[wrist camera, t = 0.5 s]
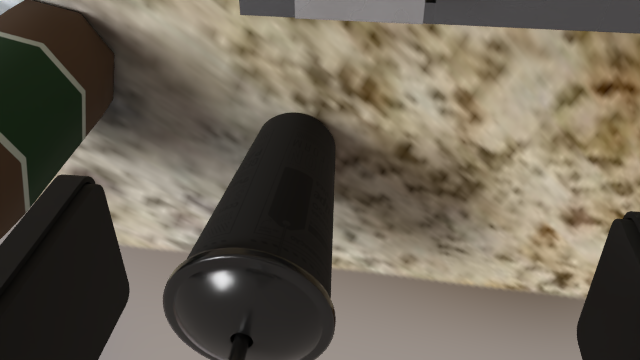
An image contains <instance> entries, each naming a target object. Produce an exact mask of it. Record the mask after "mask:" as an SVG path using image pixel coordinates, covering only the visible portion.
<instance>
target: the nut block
mask: <svg viewBox="0 0 640 360" xmlns="http://www.w3.org/2000/svg"><path fill="white" fill-rule="evenodd" d="M424 7H425V0H295V18H301V19H323V20H344V21H366V22H387V23H409V24H423V17H424Z"/></svg>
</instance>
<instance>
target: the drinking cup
mask: <svg viewBox="0 0 640 360" xmlns="http://www.w3.org/2000/svg"><path fill="white" fill-rule="evenodd" d="M334 177H335V142H334V139H333V137H332V135H331V133H330V132H329V130H328V129H327V128H326V127H325V126H324V125H323V124H322V123H321V122H319V121H318V120H316V119H315V118H313V117H310V116H308V115H304V114H300V113H286V114H281V115H278V116H275V117H273V118H272V119H270V120H269V121H267V122H266V123H265V124H264V126H263V127H262V128H261V130H260V132H259V134H258V135H257V137H256V139H255V141H254V142H253V144H252V146H251V148H250V149H249V151H248V153H247V155H246V156H245V158H244V160H243V162H242V163H241V165H240V167H239V169H238V170H237V172H236V174H235V176H234V177H233V179H232V181H231V183H230V184H229V186H228V188H227V190H226V191H225V193H224V195H223V197H222V198H221V200H220V202H219V204H218V205H217V207H216V209H215V211H214V212H213V214H212V216H211V218H210V219H209V221H208V223H207V225H206V226H205V228H204V230H203V232H202V233H201V235H200V237H199V239H198V240H197V242H196V244H195V246H194V247H193V249H192V251H191V253H190V254H189V256H188V258H187V260H185V261H184V262H183V263H181V264H180V265H179V266H178V267H177V268H176V269H175V270H174V271H173V273H172V274H171V276H170V278H169V280H168V281H167V284H166V286H165V289H164V294H163V307H164V312H165V316H166V318H167V320H168V322H169V324H170V326H171V327H172V329H173V330H174V332H175V333H176V334H177V335H178V337H179V338H180V339H181V340H182V341H183V342H185V343H186V344H187V345H188V346H189V347H191V348H192V349H193V350H195V351H196V352H198V353H199V354H201V355H203V356H204V357H206V358H208V359H210V360H315V359H316V358H318V357H319V356H320V355H321V354H322V353H323V352H324V351H325V350H326V349H327V347H328V346H329V344H330V342H331V340H332V338H333V335H334V330H335V322H336V321H335V320H336V317H335V310H334V307H333V303H332V301H331V270H332V239H333V208H334Z"/></svg>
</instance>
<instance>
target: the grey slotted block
mask: <svg viewBox="0 0 640 360" xmlns="http://www.w3.org/2000/svg"><path fill="white" fill-rule="evenodd" d="M239 4H240V15H255V16H276V17H295V0H239ZM423 23H426V24H448V25H469V26H490V27H512V28H533V29H555V30H576V31H597V32H619V33H640V0H425V7H424V17H423Z"/></svg>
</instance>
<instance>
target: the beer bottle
mask: <svg viewBox="0 0 640 360" xmlns="http://www.w3.org/2000/svg"><path fill="white" fill-rule="evenodd" d="M113 87H114V53H113V52H112V51H111V49H110V48H109V47H108V46H107V45H106V43H105V42H104V41H103V40H102V39H101V37H100V36H99V35H98V34H97V33H96V31H95V30H94V29H93V28H92V27H91V25H90V24H89V23H88V22H87V21H86V19H85V18H84V17H83V16H82V15H81V13H77V12H74V11H70V10H66V9H63V8H59V7H55V6H52V5H48V4H44V3H41V2H37V1H33V0H24V1H23V2H21V3H19V4H17V5H16V6H14V7H12V8H11V9H9V10H7V11H6V12H5V13H3V14H2V15H0V239H1V238H2V237H3V236H4V235H5V234H6V233H7V232H8V231H9V230H10V229H11V228H12V227H13V226H14V225H15V224H16V223H17V222H18V220H19V219H20V218H21V217H22V216H23V215H24V214H25V213H26V212H27V211H28V210H29V208H30V207H31V206H32V204H33V203H34V202H35V201H36V199H37V198H38V197H39V196H40V194H41V193H42V192H43V190H44V189H45V188H46V187H47V185H48V184H49V183H50V182H51V180H52V179H53V178H54V177H55V175H56V174H57V173H58V171H59V170H60V169H61V168H62V166H63V165H64V164H65V163H66V161H67V160H68V159H69V157H70V156H71V155H72V154H73V152H74V151H75V150H76V149H77V147H78V146H79V145H80V144H81V142H82V141H83V140H84V138H85V137H86V136H87V135H88V133H89V132H90V131H91V130H92V128H93V127H94V126H95V124H96V123H97V122H98V121H99V119H100V118H101V117H102V116H103V114H104V113H105V111H106V109H107V108H108V106H109V105H110V103H111V102H112V100H113Z"/></svg>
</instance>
